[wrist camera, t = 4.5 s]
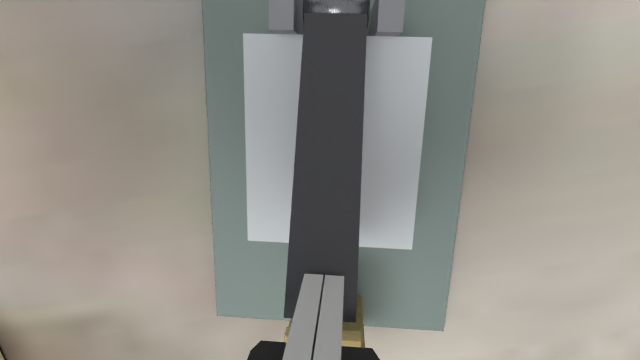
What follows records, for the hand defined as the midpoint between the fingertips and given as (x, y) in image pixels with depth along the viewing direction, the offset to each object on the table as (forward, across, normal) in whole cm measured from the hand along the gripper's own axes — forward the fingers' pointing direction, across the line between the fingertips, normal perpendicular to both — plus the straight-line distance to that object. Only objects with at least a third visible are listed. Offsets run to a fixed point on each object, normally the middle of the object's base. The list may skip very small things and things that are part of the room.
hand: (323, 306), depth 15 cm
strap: (+5, 0, +6) cm, 7 cm away
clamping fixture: (+14, 0, +5) cm, 15 cm away
